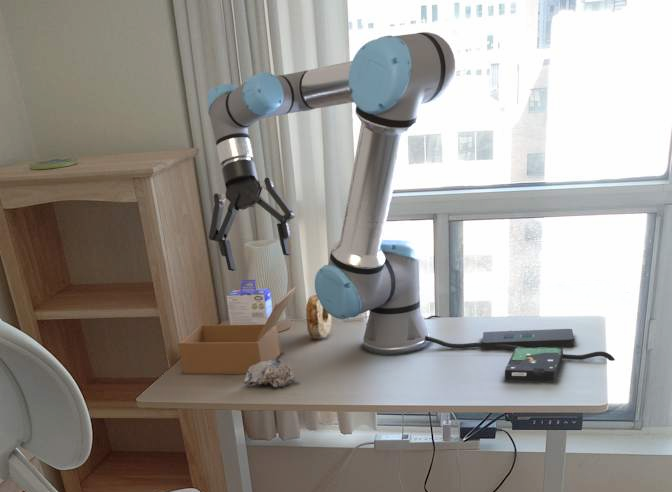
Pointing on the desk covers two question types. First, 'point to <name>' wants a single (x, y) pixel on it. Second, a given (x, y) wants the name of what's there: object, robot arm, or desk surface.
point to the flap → (276, 313)
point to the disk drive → (534, 364)
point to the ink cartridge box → (249, 304)
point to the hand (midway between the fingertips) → (259, 262)
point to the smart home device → (529, 338)
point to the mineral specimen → (269, 374)
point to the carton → (227, 348)
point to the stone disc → (317, 319)
